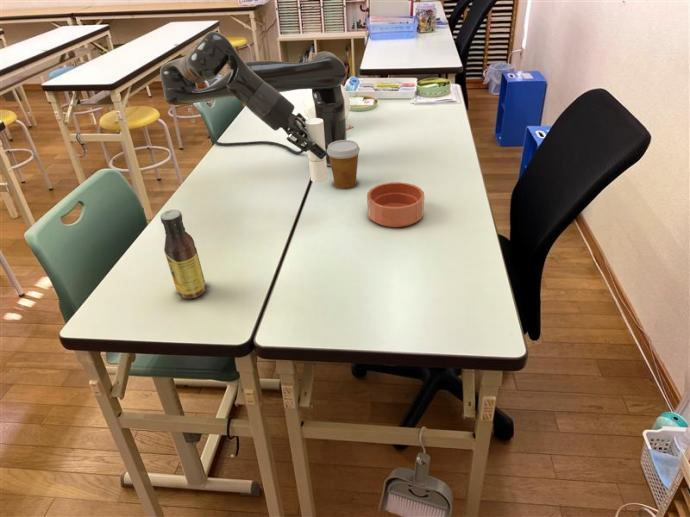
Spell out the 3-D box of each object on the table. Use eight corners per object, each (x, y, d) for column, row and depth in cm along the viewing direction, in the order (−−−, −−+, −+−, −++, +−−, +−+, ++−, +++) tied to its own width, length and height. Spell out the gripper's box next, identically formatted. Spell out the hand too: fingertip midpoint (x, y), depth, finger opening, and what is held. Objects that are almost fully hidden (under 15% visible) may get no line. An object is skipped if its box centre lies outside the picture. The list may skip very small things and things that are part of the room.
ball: (352, 98, 201) (340, 50, 180) (359, 150, 190) (346, 106, 169) (309, 107, 203) (291, 61, 182) (313, 159, 192) (295, 116, 171)
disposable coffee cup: (366, 179, 156) (364, 141, 149) (353, 193, 149) (351, 153, 142) (337, 175, 159) (335, 137, 153) (323, 188, 152) (320, 149, 146)
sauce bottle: (180, 284, 116) (158, 206, 105) (208, 282, 116) (189, 203, 105) (175, 302, 111) (150, 222, 100) (204, 300, 111) (183, 219, 100)
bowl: (356, 218, 137) (355, 198, 133) (389, 197, 146) (388, 177, 142) (402, 235, 129) (403, 213, 125) (433, 211, 138) (434, 191, 134)
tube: (325, 182, 129) (320, 124, 121) (308, 182, 130) (303, 124, 122) (329, 175, 133) (325, 118, 124) (313, 174, 134) (307, 117, 125)
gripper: (264, 107, 129) (317, 151, 135) (254, 128, 117) (312, 175, 123) (283, 85, 126) (336, 131, 132) (275, 103, 114) (333, 153, 120)
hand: (324, 152), depth 127 cm, fingers closed on tube, 4 cm apart
